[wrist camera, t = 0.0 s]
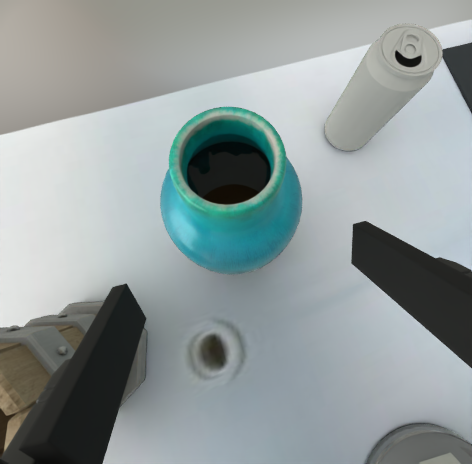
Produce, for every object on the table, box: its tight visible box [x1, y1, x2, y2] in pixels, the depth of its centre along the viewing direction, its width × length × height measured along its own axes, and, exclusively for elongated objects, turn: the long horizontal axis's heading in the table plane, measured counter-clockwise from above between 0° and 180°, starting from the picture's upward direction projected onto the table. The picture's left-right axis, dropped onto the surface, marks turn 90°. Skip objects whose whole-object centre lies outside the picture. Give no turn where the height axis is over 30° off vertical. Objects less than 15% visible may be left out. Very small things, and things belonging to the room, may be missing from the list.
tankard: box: [0, 302, 147, 458], centre depth 18 cm, size 20×13×15 cm, turn 2°
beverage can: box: [325, 24, 443, 151], centre depth 25 cm, size 6×6×12 cm
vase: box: [160, 107, 302, 274], centre depth 19 cm, size 11×11×19 cm
